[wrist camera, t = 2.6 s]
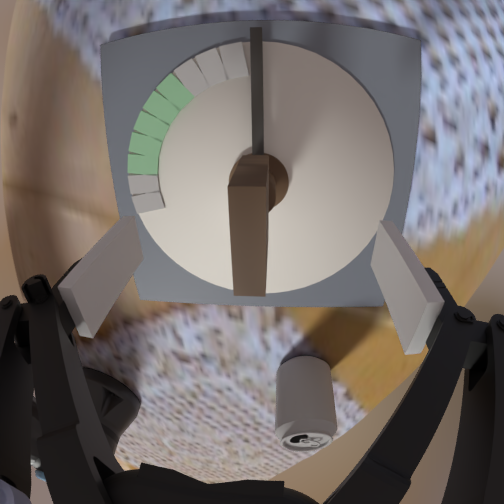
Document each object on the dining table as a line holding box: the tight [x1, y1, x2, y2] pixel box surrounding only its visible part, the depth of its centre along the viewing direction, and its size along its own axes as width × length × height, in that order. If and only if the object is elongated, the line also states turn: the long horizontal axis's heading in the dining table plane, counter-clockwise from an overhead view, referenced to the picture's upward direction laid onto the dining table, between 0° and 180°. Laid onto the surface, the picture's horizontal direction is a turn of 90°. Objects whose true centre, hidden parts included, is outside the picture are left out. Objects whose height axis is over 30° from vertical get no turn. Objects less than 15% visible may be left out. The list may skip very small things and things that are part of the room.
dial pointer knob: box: [227, 27, 289, 297], centre depth 18 cm, size 5×16×11 cm, turn 1°
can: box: [275, 356, 337, 452], centre depth 35 cm, size 8×8×12 cm
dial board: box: [101, 20, 421, 307], centre depth 26 cm, size 28×28×2 cm
